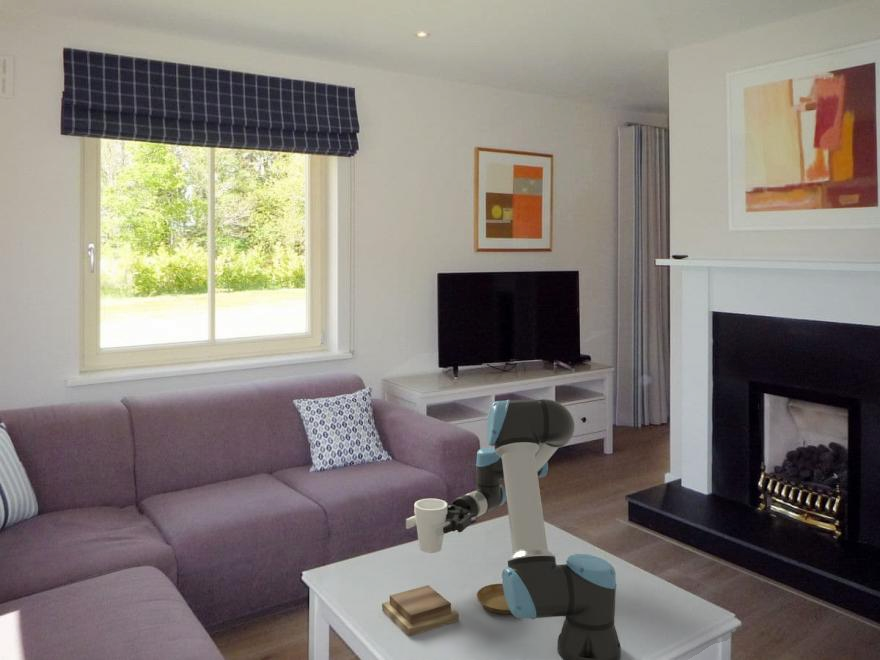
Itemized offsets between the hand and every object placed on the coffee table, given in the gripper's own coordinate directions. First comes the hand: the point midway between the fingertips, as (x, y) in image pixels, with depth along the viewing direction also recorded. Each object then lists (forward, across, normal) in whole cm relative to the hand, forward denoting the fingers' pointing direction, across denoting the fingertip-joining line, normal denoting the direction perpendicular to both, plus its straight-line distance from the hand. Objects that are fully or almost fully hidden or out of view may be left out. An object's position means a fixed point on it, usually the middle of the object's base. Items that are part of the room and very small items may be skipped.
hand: (420, 528), depth 202 cm
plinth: (+8, -7, -20) cm, 23 cm away
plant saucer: (-11, -20, -20) cm, 31 cm away
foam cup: (-4, 0, -7) cm, 9 cm away
